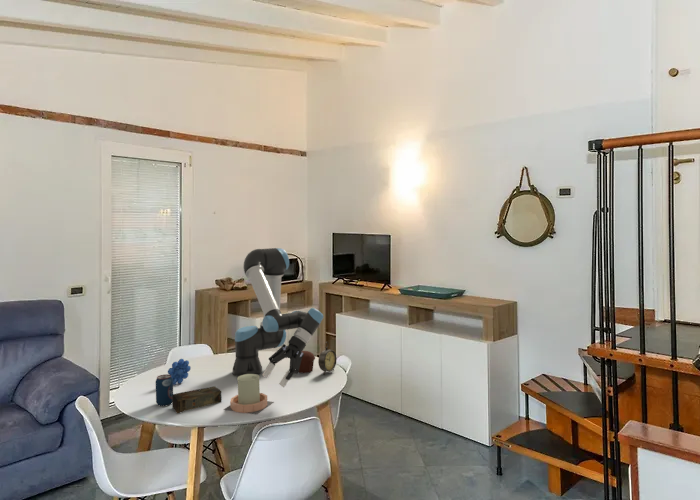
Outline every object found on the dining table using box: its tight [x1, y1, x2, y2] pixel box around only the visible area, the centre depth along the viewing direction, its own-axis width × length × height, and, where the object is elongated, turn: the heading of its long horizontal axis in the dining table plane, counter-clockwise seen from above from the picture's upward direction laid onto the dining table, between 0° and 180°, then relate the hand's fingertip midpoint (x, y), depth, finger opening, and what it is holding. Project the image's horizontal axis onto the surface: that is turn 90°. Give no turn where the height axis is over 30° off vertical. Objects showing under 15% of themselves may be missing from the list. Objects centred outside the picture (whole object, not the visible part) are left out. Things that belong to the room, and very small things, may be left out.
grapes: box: [167, 358, 192, 386], centre depth 229 cm, size 12×7×12 cm, turn 134°
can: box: [236, 374, 261, 405], centre depth 197 cm, size 9×9×12 cm
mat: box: [223, 400, 275, 415], centre depth 197 cm, size 16×14×1 cm
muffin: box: [298, 350, 316, 374], centre depth 246 cm, size 12×11×10 cm
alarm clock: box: [317, 341, 337, 376], centre depth 242 cm, size 11×5×16 cm, turn 148°
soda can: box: [155, 373, 174, 407], centre depth 202 cm, size 7×7×12 cm
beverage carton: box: [171, 385, 222, 414], centre depth 199 cm, size 8×19×7 cm, turn 125°
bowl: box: [229, 392, 268, 414], centre depth 197 cm, size 15×15×3 cm
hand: (272, 381), depth 204 cm, fingers open, 13 cm apart
